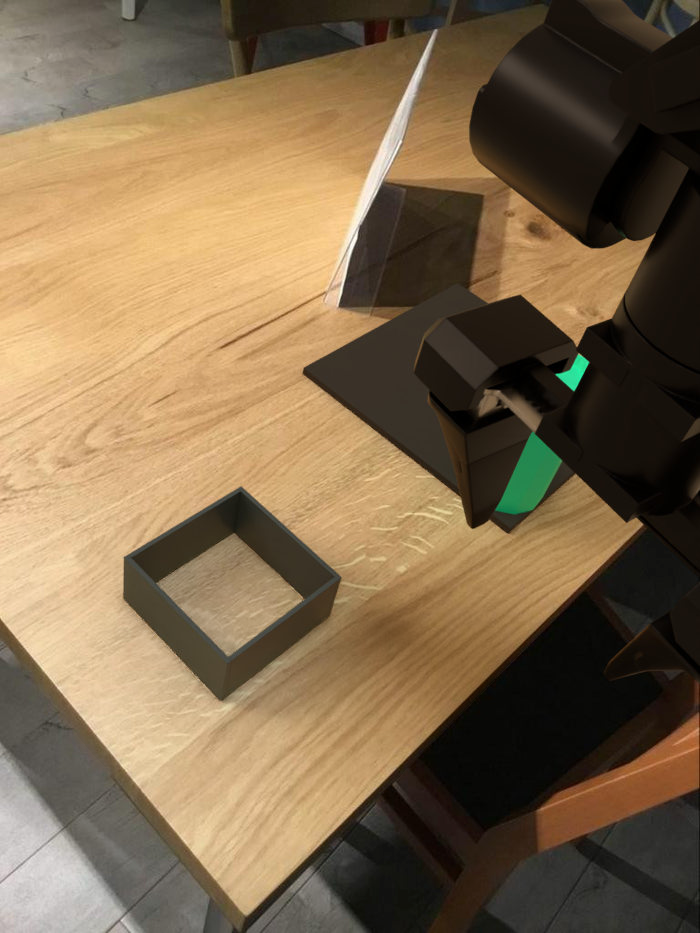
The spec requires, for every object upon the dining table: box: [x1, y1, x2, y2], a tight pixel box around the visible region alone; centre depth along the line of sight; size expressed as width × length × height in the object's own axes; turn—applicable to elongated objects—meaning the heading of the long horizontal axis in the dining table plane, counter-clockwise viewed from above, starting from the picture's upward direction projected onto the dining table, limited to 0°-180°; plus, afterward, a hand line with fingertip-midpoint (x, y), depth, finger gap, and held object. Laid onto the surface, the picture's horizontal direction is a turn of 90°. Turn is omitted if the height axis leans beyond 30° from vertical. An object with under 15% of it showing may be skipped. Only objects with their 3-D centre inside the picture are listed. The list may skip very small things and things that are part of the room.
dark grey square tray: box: [122, 486, 343, 702], centre depth 50 cm, size 9×9×4 cm
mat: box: [302, 282, 576, 534], centre depth 69 cm, size 20×20×1 cm
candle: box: [495, 354, 589, 515], centre depth 58 cm, size 6×6×12 cm
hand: (541, 594), depth 40 cm, fingers open, 9 cm apart
